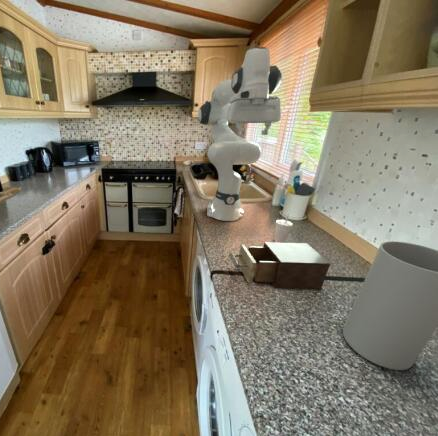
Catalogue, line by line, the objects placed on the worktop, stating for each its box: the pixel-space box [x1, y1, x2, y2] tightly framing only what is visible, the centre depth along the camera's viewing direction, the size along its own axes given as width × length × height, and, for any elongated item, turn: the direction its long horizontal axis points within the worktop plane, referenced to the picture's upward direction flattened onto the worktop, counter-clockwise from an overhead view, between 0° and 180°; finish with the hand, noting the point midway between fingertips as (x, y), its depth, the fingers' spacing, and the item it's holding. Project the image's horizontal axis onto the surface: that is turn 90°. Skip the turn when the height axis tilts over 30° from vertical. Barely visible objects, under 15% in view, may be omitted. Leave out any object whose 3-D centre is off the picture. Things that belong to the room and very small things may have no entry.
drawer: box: [228, 244, 280, 284], centre depth 81 cm, size 18×11×8 cm, turn 88°
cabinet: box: [262, 241, 331, 290], centre depth 81 cm, size 15×13×10 cm
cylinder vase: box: [342, 240, 438, 371], centre depth 53 cm, size 12×12×25 cm
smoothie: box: [273, 212, 294, 243], centre depth 102 cm, size 6×6×14 cm
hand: (253, 135), depth 93 cm, fingers open, 8 cm apart
